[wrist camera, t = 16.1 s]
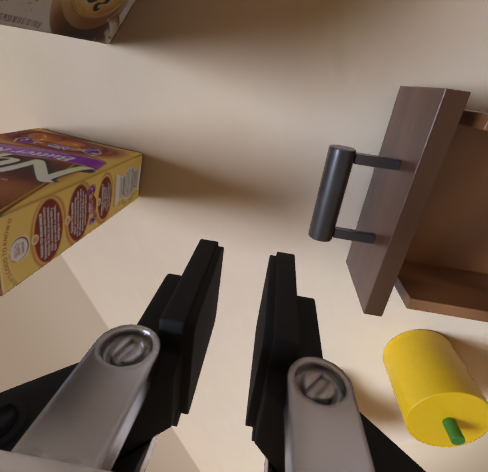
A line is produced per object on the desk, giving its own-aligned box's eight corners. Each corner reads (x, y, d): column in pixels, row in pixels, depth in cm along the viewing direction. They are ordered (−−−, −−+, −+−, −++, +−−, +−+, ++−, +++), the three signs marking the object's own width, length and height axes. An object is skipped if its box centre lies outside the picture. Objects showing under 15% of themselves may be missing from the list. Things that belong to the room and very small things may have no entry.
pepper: (374, 372, 34) (400, 458, 26) (394, 323, 31) (431, 404, 23) (437, 383, 34) (482, 474, 26) (463, 336, 31) (523, 421, 23)
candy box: (144, 147, 27) (-5, 220, 13) (140, 197, 28) (6, 307, 15) (37, 122, 27) (-226, 166, 13) (40, 173, 29) (-186, 259, 15)
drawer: (295, 253, 28) (298, 302, 22) (335, 76, 22) (355, 75, 16) (535, 293, 27) (609, 356, 21) (643, 121, 21) (791, 138, 15)
